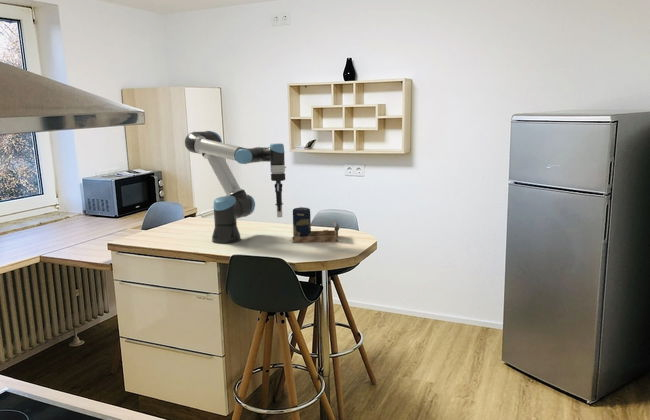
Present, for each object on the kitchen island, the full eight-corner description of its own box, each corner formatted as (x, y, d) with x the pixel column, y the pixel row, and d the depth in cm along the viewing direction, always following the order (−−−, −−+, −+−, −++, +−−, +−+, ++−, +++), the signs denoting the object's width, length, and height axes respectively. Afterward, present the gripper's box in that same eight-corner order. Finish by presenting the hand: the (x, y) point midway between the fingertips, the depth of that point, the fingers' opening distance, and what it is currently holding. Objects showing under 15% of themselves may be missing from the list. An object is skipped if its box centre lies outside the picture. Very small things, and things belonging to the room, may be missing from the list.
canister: (312, 237, 286) (311, 205, 283) (309, 241, 277) (309, 208, 274) (294, 237, 287) (293, 205, 284) (292, 241, 278) (291, 208, 275)
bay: (292, 242, 274) (292, 227, 273) (293, 236, 290) (293, 221, 288) (339, 241, 275) (339, 226, 274) (337, 235, 290) (337, 220, 289)
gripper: (284, 173, 269) (286, 219, 273) (285, 171, 282) (287, 214, 286) (269, 174, 269) (271, 219, 273) (271, 172, 282) (273, 215, 286)
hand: (279, 217), depth 280 cm, fingers closed
